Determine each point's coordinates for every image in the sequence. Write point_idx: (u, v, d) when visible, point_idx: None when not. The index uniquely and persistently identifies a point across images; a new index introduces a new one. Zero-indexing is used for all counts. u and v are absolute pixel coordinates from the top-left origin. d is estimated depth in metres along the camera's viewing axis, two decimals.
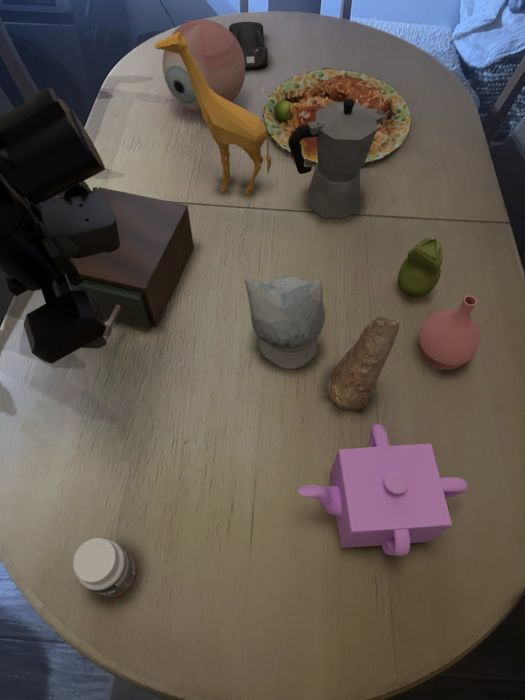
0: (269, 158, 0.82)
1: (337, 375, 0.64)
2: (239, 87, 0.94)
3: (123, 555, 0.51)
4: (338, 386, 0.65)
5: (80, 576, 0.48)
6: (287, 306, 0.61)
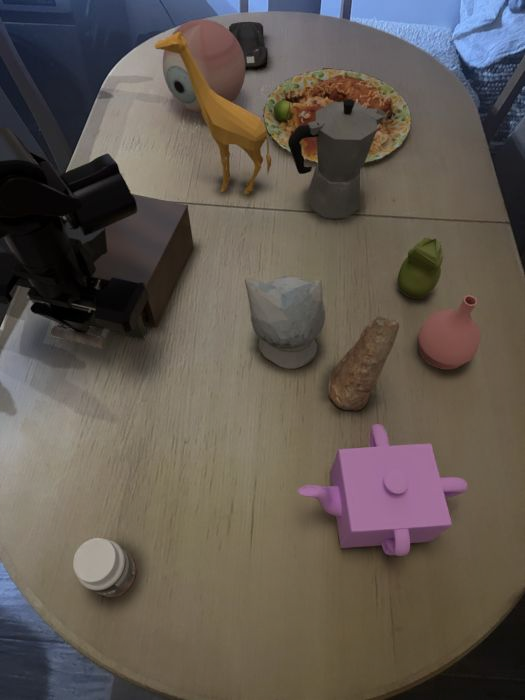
0: (269, 158, 0.82)
1: (337, 375, 0.64)
2: (239, 87, 0.94)
3: (123, 555, 0.51)
4: (338, 386, 0.65)
5: (80, 576, 0.48)
6: (287, 306, 0.61)
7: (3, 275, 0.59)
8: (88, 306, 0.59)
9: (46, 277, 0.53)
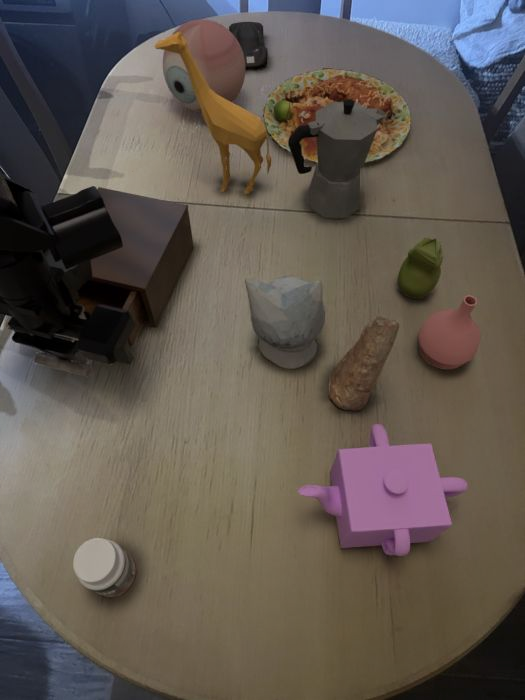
0: (269, 158, 0.82)
1: (337, 375, 0.64)
2: (239, 87, 0.94)
3: (123, 555, 0.51)
4: (338, 386, 0.65)
5: (80, 576, 0.48)
6: (287, 306, 0.61)
7: None
8: (71, 336, 0.56)
9: (26, 309, 0.51)
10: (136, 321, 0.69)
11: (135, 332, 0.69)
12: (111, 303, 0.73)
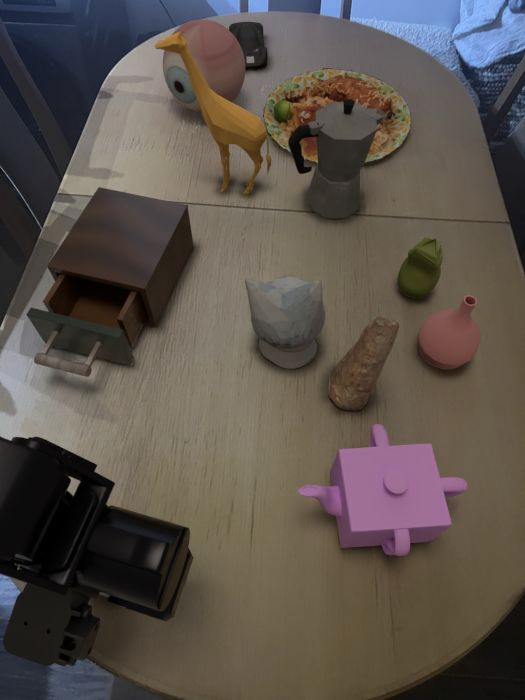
0: (269, 158, 0.82)
1: (337, 375, 0.64)
2: (239, 87, 0.94)
3: None
4: (338, 386, 0.65)
5: None
6: (287, 306, 0.61)
7: None
8: None
9: None
10: (136, 322, 0.69)
11: (135, 332, 0.69)
12: (111, 303, 0.73)
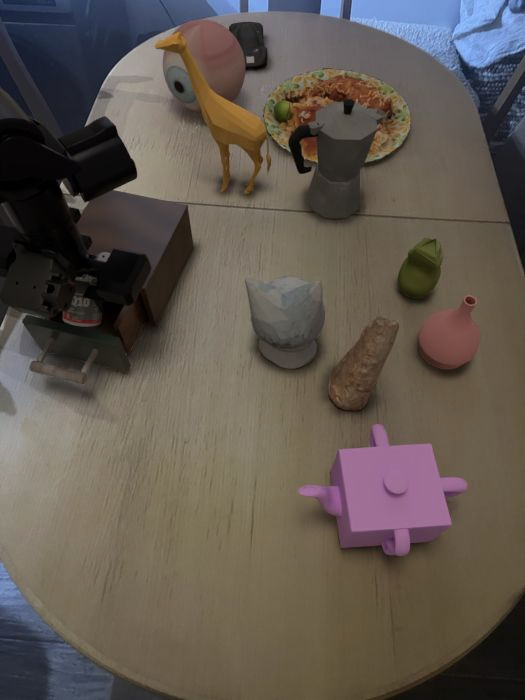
0: (269, 158, 0.82)
1: (337, 375, 0.64)
2: (239, 87, 0.94)
3: None
4: (338, 386, 0.65)
5: None
6: (287, 306, 0.61)
7: (118, 258, 0.57)
8: None
9: None
10: (132, 328, 0.68)
11: (131, 339, 0.69)
12: (108, 309, 0.72)
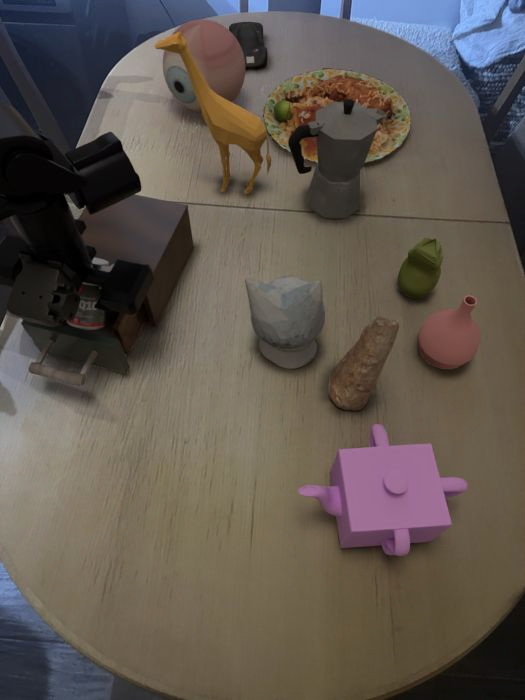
0: (269, 158, 0.82)
1: (337, 375, 0.64)
2: (239, 87, 0.94)
3: None
4: (338, 386, 0.65)
5: None
6: (287, 306, 0.61)
7: (122, 268, 0.58)
8: None
9: None
10: (131, 330, 0.68)
11: (131, 341, 0.69)
12: None
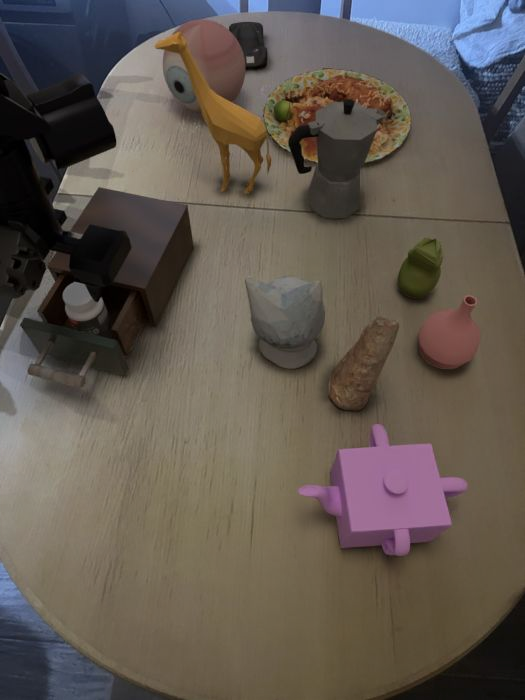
0: (269, 158, 0.82)
1: (337, 375, 0.64)
2: (239, 87, 0.94)
3: (101, 298, 0.66)
4: (338, 386, 0.65)
5: (69, 303, 0.62)
6: (287, 306, 0.61)
7: (95, 234, 0.52)
8: None
9: None
10: (131, 331, 0.68)
11: (130, 342, 0.69)
12: None
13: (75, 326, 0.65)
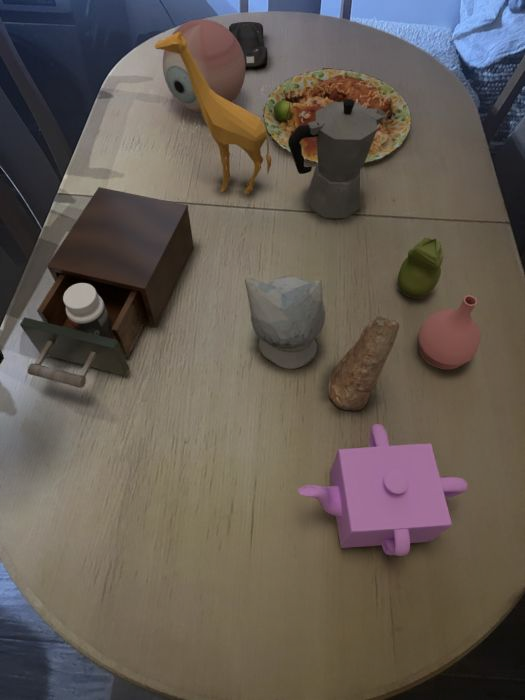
0: (269, 158, 0.82)
1: (337, 375, 0.64)
2: (239, 87, 0.94)
3: (102, 300, 0.65)
4: (338, 386, 0.65)
5: (70, 306, 0.62)
6: (287, 306, 0.61)
7: None
8: None
9: None
10: (131, 331, 0.68)
11: (130, 342, 0.69)
12: None
13: (76, 328, 0.65)
